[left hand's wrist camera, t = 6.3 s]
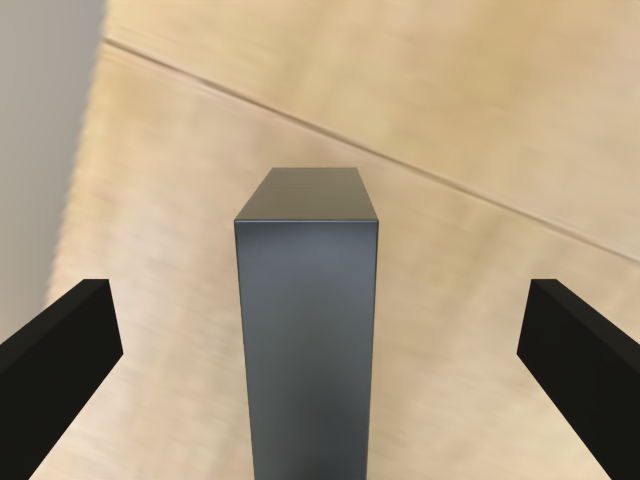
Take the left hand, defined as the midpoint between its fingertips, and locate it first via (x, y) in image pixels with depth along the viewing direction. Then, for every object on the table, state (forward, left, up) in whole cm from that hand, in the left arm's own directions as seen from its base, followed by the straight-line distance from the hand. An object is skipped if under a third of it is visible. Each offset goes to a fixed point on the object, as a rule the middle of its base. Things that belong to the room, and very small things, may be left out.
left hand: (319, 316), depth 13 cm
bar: (+7, +12, -10) cm, 17 cm away
